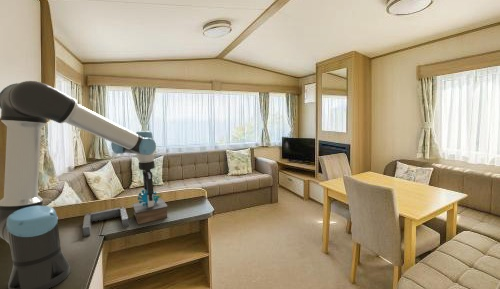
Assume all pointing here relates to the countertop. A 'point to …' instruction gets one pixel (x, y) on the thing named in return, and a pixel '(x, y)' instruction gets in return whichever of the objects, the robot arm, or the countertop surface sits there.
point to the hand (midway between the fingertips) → (149, 203)
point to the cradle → (104, 215)
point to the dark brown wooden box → (150, 211)
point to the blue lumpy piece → (144, 197)
